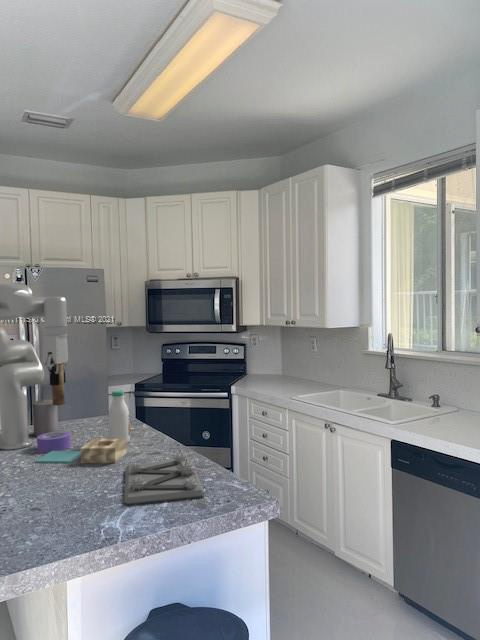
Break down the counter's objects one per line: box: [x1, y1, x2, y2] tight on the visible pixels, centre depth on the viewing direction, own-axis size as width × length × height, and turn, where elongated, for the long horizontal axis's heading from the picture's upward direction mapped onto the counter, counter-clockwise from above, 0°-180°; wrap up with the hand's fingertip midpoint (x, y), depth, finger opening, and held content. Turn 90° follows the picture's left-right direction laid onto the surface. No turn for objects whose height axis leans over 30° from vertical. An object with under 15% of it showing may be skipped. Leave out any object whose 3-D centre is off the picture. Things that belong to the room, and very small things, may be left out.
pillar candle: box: [32, 399, 59, 438], centre depth 209 cm, size 10×10×15 cm
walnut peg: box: [51, 363, 66, 406], centre depth 175 cm, size 4×4×14 cm
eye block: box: [80, 438, 128, 464], centre depth 174 cm, size 12×12×5 cm
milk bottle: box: [108, 390, 131, 444], centre depth 193 cm, size 8×8×20 cm
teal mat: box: [35, 450, 81, 464], centre depth 175 cm, size 12×12×1 cm
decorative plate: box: [124, 451, 206, 506], centre depth 148 cm, size 30×22×7 cm
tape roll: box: [36, 430, 72, 453], centre depth 188 cm, size 12×12×5 cm
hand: (57, 383), depth 175 cm, fingers closed on walnut peg, 4 cm apart
